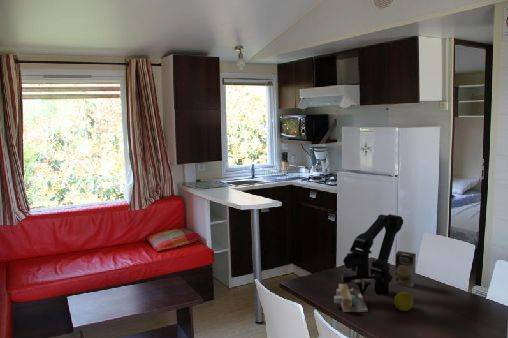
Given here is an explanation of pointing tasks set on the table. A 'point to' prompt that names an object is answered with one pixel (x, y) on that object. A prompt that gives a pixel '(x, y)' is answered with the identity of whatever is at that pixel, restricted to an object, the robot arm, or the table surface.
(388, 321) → the table surface
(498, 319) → the table surface
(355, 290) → the terracotta knob
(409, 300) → the lemon
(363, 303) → the mount
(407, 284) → the coffee box
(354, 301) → the teal knob
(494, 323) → the table surface
